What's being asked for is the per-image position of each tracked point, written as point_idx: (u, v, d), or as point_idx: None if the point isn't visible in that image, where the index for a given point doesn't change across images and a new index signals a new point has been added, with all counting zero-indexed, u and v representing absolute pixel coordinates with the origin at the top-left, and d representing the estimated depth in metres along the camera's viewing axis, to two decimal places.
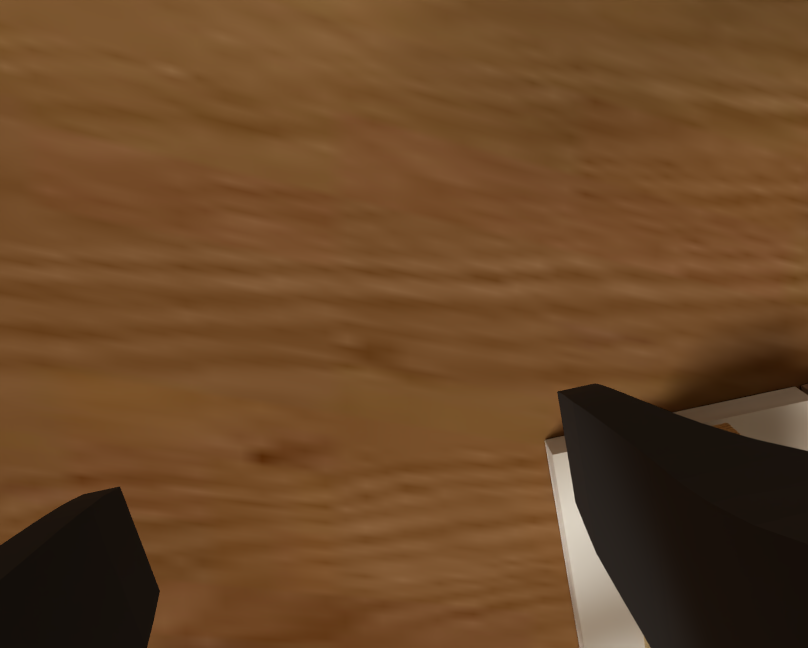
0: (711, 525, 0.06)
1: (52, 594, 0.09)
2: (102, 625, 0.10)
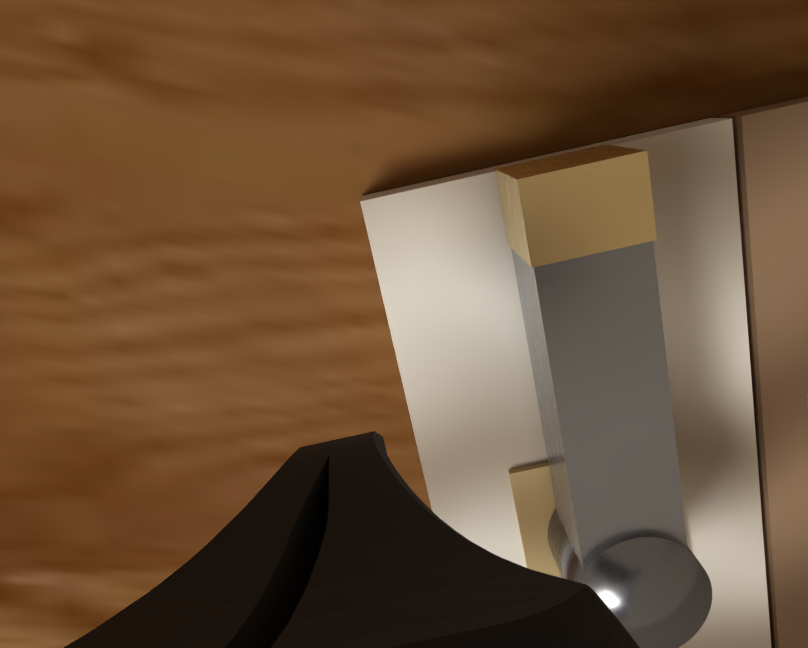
0: None
1: (322, 536, 0.09)
2: None
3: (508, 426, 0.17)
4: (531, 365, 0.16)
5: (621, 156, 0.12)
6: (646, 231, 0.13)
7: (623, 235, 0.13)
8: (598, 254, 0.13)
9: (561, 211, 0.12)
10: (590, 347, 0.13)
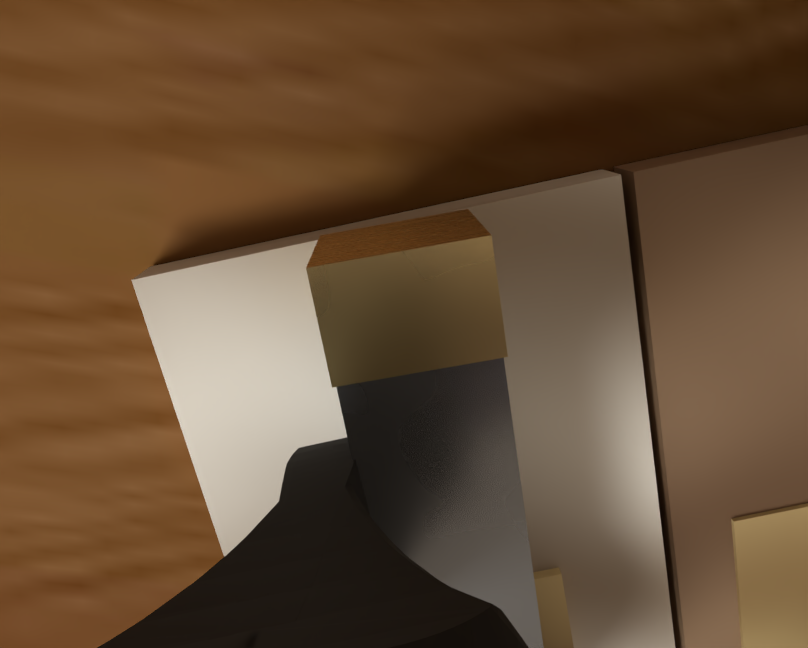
0: None
1: None
2: None
3: None
4: None
5: (455, 241, 0.09)
6: (492, 344, 0.09)
7: (460, 348, 0.09)
8: (427, 372, 0.09)
9: (370, 313, 0.09)
10: (420, 494, 0.10)
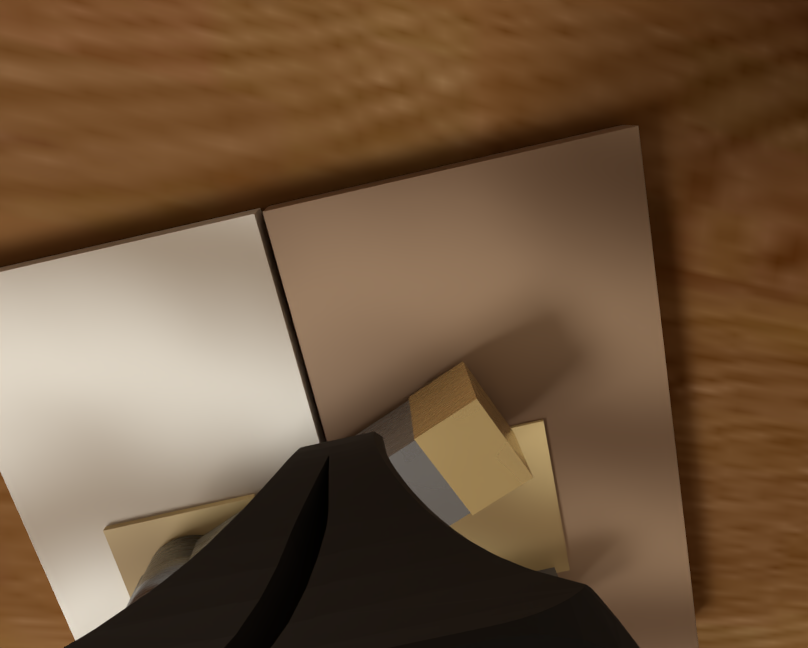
0: None
1: (322, 536, 0.09)
2: None
3: (98, 487, 0.18)
4: None
5: (522, 462, 0.15)
6: (475, 505, 0.16)
7: (466, 491, 0.16)
8: (444, 481, 0.15)
9: (466, 440, 0.15)
10: None
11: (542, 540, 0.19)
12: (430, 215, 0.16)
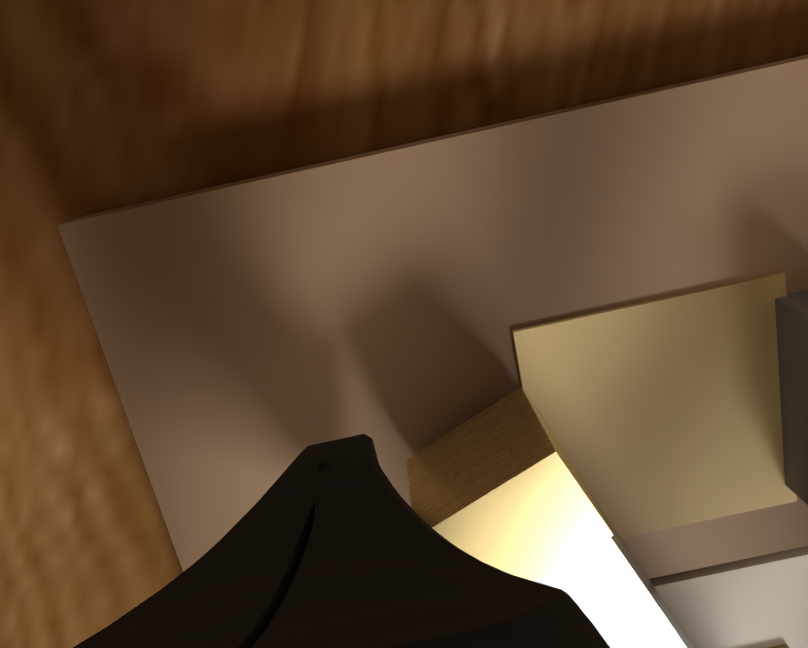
0: None
1: None
2: None
3: None
4: None
5: (527, 468, 0.10)
6: (595, 531, 0.10)
7: (570, 544, 0.10)
8: (549, 572, 0.10)
9: (482, 549, 0.10)
10: None
11: (722, 319, 0.12)
12: (209, 490, 0.13)
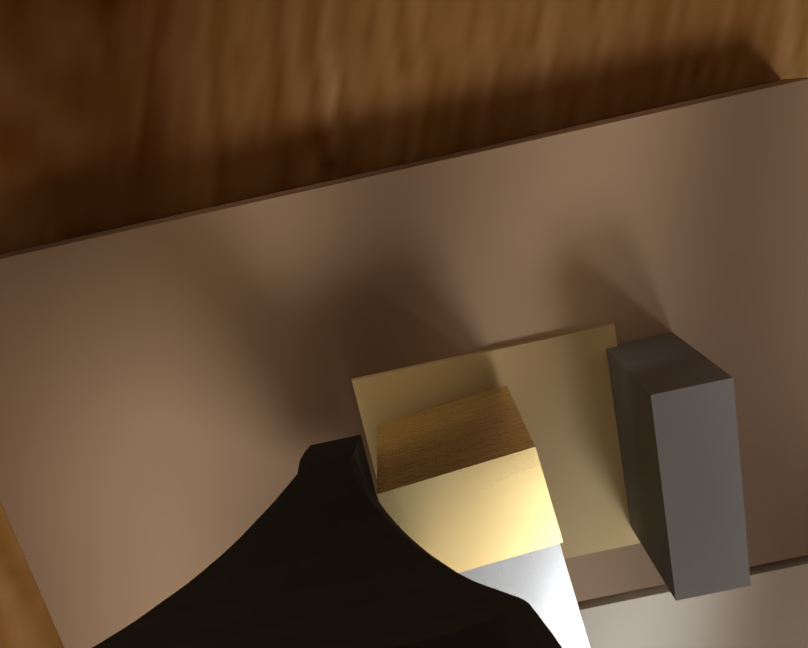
0: None
1: None
2: None
3: None
4: None
5: (504, 456, 0.10)
6: (548, 534, 0.10)
7: (520, 540, 0.10)
8: (493, 563, 0.10)
9: (437, 522, 0.10)
10: None
11: (556, 368, 0.12)
12: (68, 530, 0.13)
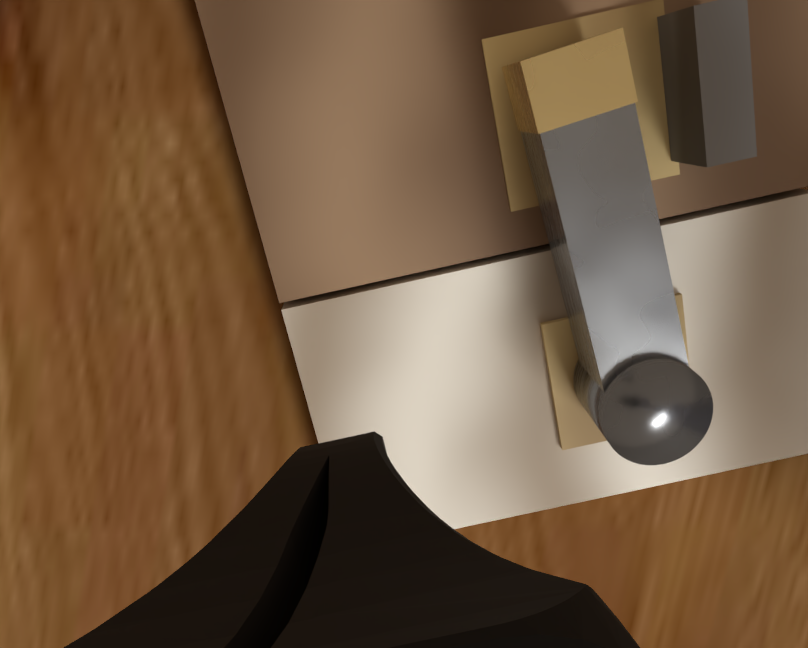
0: None
1: (322, 536, 0.09)
2: None
3: (522, 449, 0.21)
4: None
5: (602, 34, 0.15)
6: (628, 95, 0.16)
7: (610, 100, 0.16)
8: (591, 118, 0.16)
9: (557, 84, 0.16)
10: (592, 198, 0.16)
11: None
12: (276, 159, 0.18)
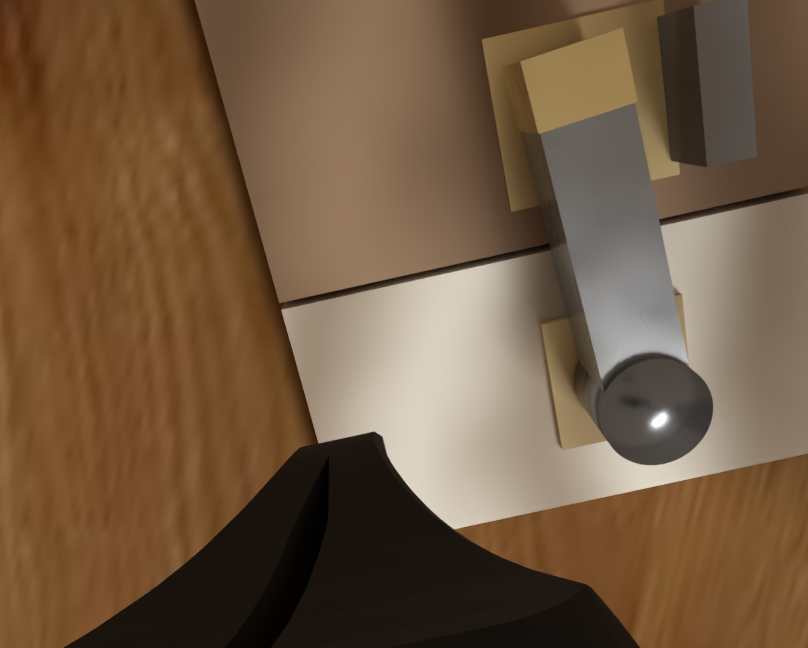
0: None
1: (322, 536, 0.09)
2: None
3: (522, 449, 0.21)
4: None
5: (602, 34, 0.15)
6: (628, 95, 0.16)
7: (610, 100, 0.16)
8: (591, 118, 0.16)
9: (557, 84, 0.16)
10: (592, 198, 0.16)
11: None
12: (276, 159, 0.18)
